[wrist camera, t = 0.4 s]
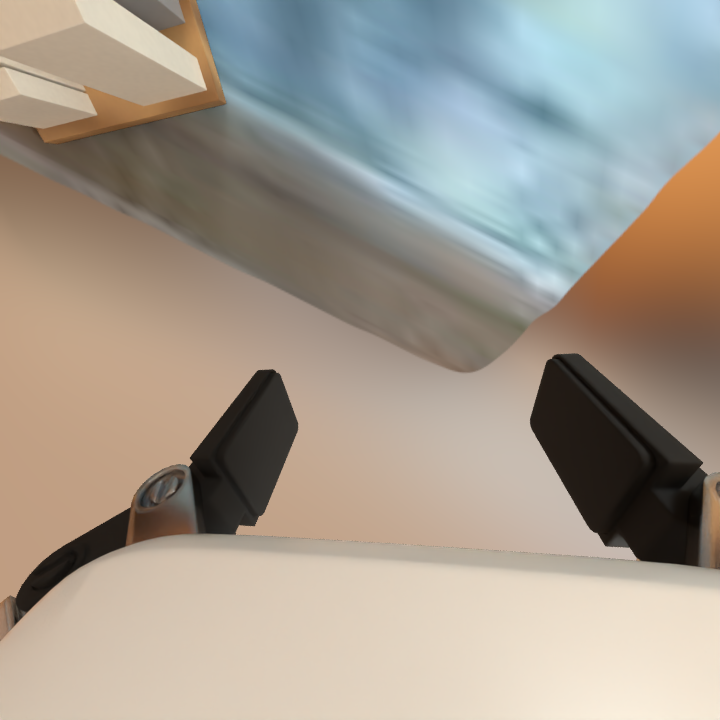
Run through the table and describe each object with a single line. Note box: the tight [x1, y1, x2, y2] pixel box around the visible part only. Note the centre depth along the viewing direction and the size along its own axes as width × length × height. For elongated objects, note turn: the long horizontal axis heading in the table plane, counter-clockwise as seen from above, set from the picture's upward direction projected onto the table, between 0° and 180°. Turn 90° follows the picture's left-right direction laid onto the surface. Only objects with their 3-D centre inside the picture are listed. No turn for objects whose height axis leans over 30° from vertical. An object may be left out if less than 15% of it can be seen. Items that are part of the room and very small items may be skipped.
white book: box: [0, 0, 207, 106], centre depth 22 cm, size 2×8×13 cm, turn 97°
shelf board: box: [36, 0, 226, 144], centre depth 27 cm, size 14×24×2 cm, turn 98°
